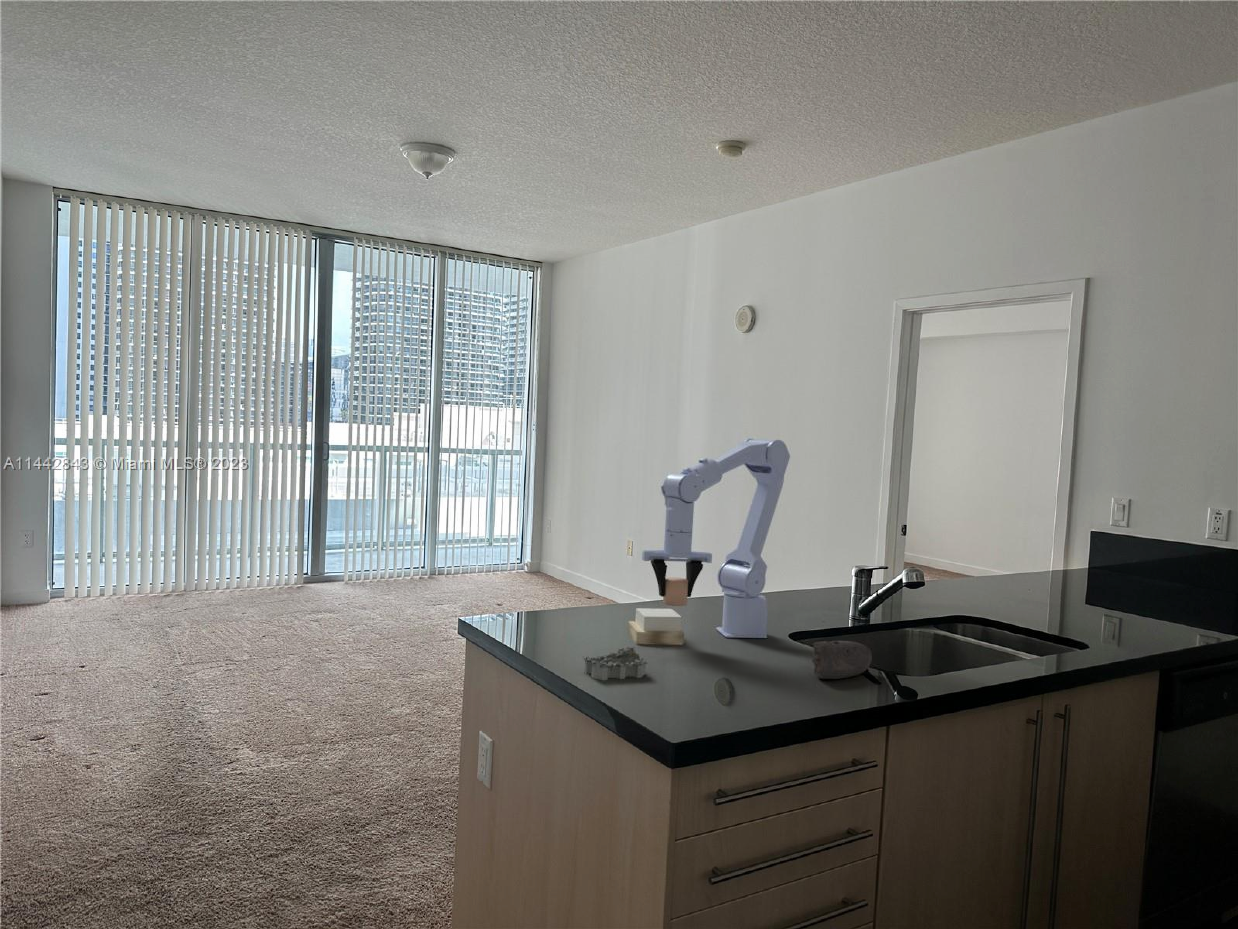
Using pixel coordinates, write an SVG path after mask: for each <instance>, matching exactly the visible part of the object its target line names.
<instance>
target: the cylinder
mask: <svg viewBox="0 0 1238 929" xmlns="http://www.w3.org/2000/svg"><path fill="white" fill-rule="evenodd" d="M687 595H688V580H687V579H686V578H682V577H665V596H664V597H663V598H662V604H663V605H665V606H671V607H684V606H687V604H688V597H687Z"/></svg>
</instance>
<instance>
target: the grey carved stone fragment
mask: <svg viewBox="0 0 1238 929" xmlns="http://www.w3.org/2000/svg"><path fill="white" fill-rule="evenodd" d="M634 648H635V647H634V646H632V647H622V648H619V649H618V650H617V652H610V653H608V654H603V655H601V654H598V655H594V656H593V657H589V656H582V658H583V661H584V673H585V674H590V675H591V679H595V680H600V681H608V679H611V678H612V679H613V678H615V679H619V680H625V679H626V677H634V678H637V679H639V678H641V679H642V678H643V677H644V676H645V675H646V666H647V665H649V663H648V660H644V658H640V655H639V652H637V651H636V650H635V649H634Z"/></svg>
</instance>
